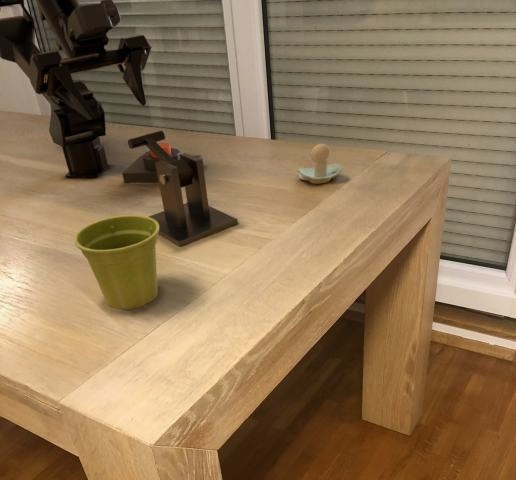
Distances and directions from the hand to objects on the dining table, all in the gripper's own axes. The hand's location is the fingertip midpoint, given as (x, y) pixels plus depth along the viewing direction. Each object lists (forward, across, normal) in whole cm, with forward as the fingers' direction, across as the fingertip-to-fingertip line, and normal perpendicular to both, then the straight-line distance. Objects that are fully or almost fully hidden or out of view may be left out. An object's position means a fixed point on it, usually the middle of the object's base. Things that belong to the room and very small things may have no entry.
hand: (118, 110), depth 87 cm
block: (+7, +9, +13) cm, 17 cm away
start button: (+4, +9, +11) cm, 14 cm away
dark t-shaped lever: (+13, -1, -5) cm, 14 cm away
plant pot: (+30, -17, -11) cm, 36 cm away
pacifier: (+22, +25, -3) cm, 34 cm away
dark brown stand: (+22, -1, -3) cm, 22 cm away
